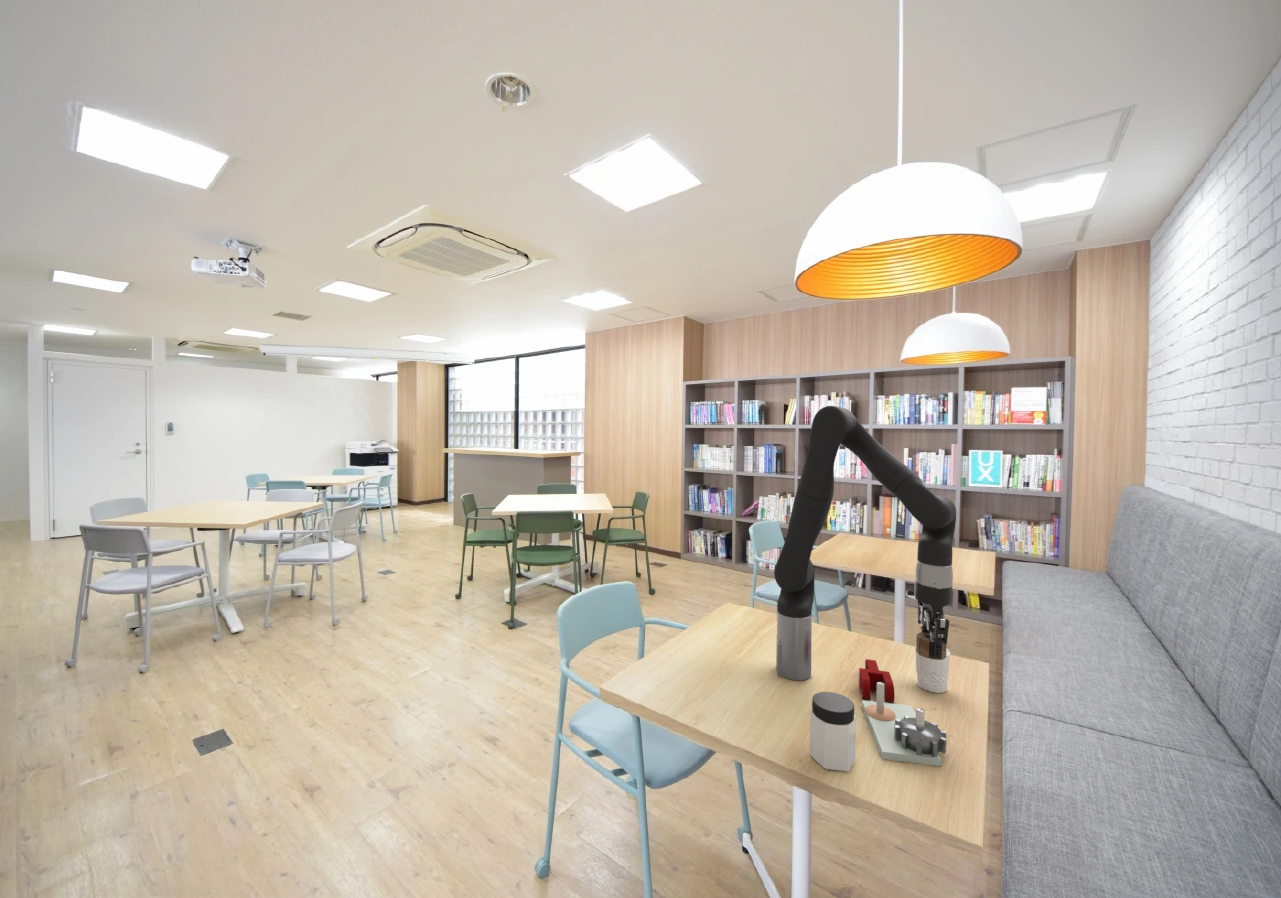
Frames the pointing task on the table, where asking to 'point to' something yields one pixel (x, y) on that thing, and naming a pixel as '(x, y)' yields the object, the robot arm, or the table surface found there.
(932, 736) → the fixed gear
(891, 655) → the table surface
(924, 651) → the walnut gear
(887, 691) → the mechanical linkage
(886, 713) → the board
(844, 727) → the jar
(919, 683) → the white cup
